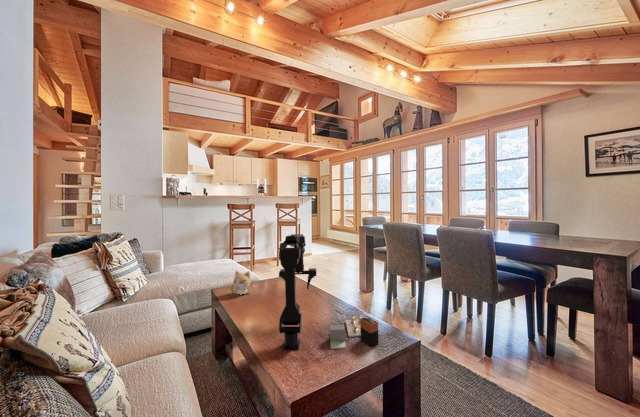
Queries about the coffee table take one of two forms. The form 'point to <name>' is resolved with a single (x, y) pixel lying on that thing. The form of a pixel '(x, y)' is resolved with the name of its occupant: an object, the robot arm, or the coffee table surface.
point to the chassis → (353, 327)
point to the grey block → (337, 337)
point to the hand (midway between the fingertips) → (298, 289)
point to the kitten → (242, 283)
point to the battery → (369, 331)
